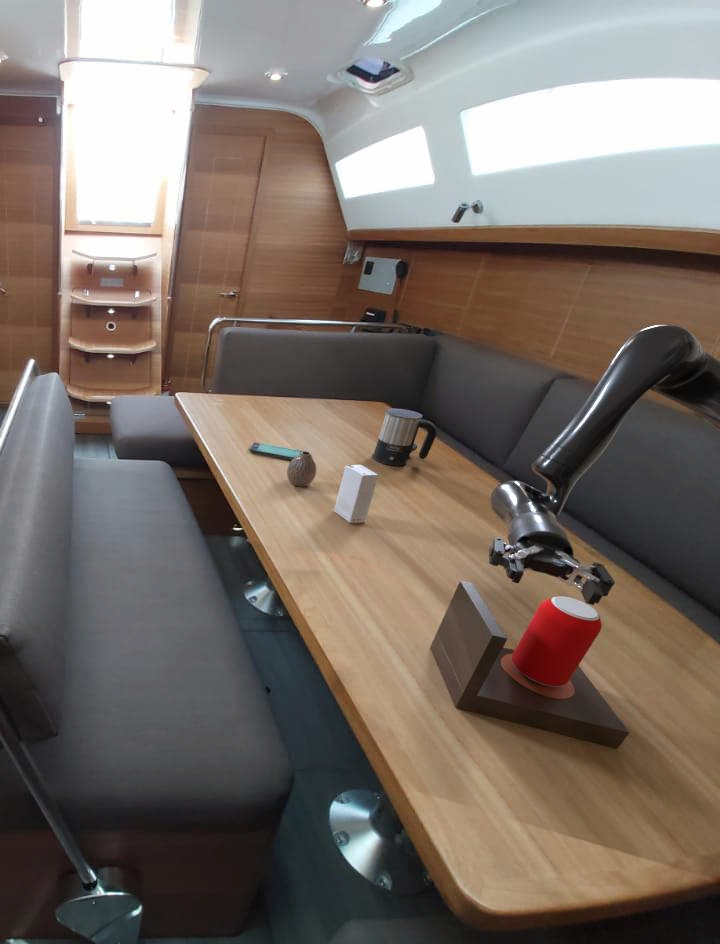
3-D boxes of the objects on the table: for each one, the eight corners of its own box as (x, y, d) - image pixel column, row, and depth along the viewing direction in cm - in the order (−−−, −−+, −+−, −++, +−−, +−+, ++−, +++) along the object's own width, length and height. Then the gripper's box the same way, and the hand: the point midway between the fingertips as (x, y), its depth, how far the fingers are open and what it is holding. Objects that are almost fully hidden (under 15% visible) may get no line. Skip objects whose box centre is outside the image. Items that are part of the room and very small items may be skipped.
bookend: (567, 678, 74) (611, 609, 68) (617, 748, 63) (674, 674, 58) (429, 647, 78) (459, 580, 73) (455, 707, 68) (492, 635, 62)
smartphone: (253, 441, 156) (305, 450, 150) (253, 445, 156) (304, 454, 150) (249, 449, 150) (303, 458, 144) (249, 453, 150) (302, 462, 144)
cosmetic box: (365, 522, 114) (381, 475, 109) (348, 524, 113) (363, 476, 108) (348, 509, 119) (362, 463, 114) (331, 510, 118) (345, 464, 113)
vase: (285, 486, 130) (292, 455, 126) (284, 476, 136) (291, 446, 132) (313, 491, 128) (322, 459, 124) (311, 480, 134) (319, 450, 130)
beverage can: (572, 681, 69) (615, 613, 64) (552, 698, 66) (596, 629, 61) (520, 651, 74) (556, 586, 69) (500, 666, 71) (536, 600, 66)
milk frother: (377, 464, 145) (392, 416, 139) (359, 445, 160) (373, 400, 153) (429, 469, 143) (448, 420, 137) (407, 449, 157) (423, 404, 151)
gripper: (494, 509, 87) (504, 551, 75) (603, 534, 80) (634, 585, 68) (478, 545, 90) (485, 591, 78) (582, 572, 84) (607, 627, 71)
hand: (554, 588), depth 73 cm, fingers open, 8 cm apart
